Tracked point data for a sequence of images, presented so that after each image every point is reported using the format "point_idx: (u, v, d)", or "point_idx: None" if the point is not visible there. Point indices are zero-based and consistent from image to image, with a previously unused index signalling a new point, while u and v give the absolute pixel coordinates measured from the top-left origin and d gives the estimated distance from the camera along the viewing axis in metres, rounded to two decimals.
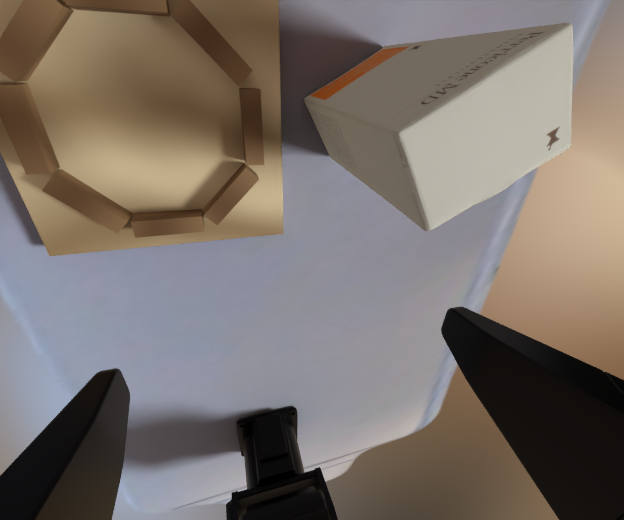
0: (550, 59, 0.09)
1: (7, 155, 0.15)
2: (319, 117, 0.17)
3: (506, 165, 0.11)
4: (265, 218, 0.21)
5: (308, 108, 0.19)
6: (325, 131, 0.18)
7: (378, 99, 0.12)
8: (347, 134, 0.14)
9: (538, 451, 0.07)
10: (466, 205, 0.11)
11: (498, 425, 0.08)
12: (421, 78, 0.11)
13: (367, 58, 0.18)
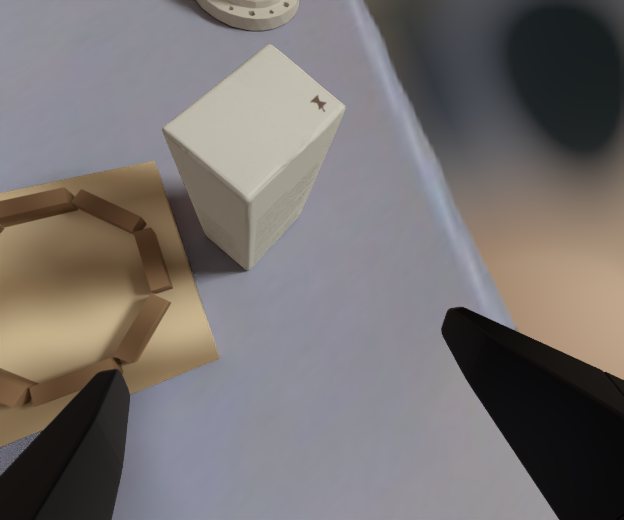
0: (268, 61, 0.12)
1: None
2: (208, 231, 0.20)
3: (290, 129, 0.12)
4: (192, 346, 0.19)
5: (208, 237, 0.21)
6: (218, 240, 0.20)
7: None
8: (202, 207, 0.16)
9: (538, 451, 0.07)
10: (272, 168, 0.11)
11: (498, 425, 0.08)
12: None
13: None
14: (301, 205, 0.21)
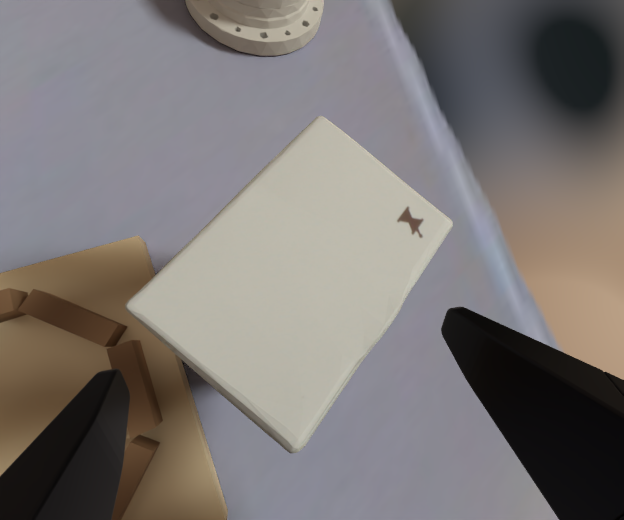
0: (321, 149, 0.07)
1: None
2: None
3: (366, 281, 0.06)
4: (189, 508, 0.13)
5: None
6: None
7: None
8: None
9: (538, 451, 0.07)
10: (341, 370, 0.06)
11: (498, 425, 0.08)
12: None
13: None
14: None
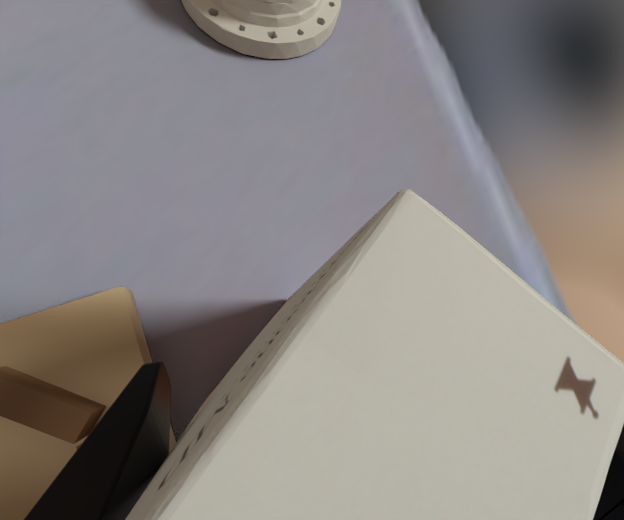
0: (414, 256, 0.04)
1: None
2: None
3: None
4: None
5: None
6: None
7: (188, 430, 0.06)
8: None
9: None
10: None
11: None
12: (238, 368, 0.06)
13: None
14: None
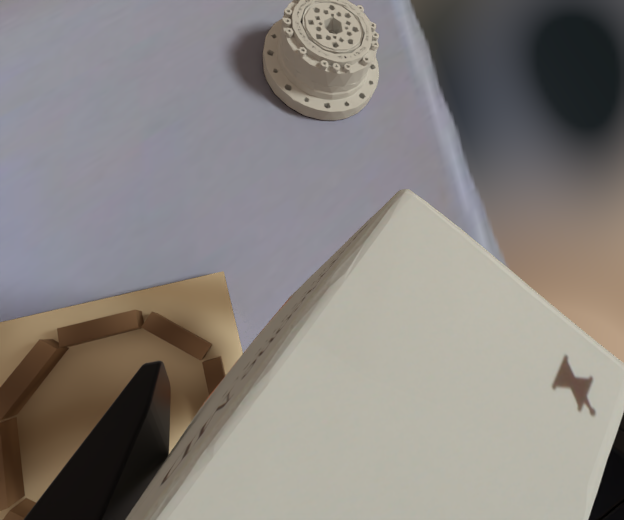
0: (413, 255, 0.04)
1: None
2: None
3: None
4: None
5: None
6: None
7: (190, 428, 0.06)
8: None
9: None
10: None
11: None
12: (239, 366, 0.06)
13: None
14: None
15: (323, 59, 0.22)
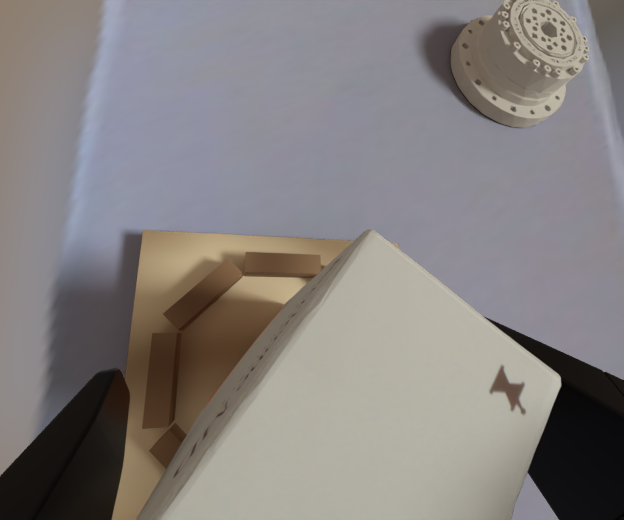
0: (375, 287, 0.05)
1: None
2: None
3: (455, 505, 0.04)
4: None
5: None
6: None
7: (193, 431, 0.07)
8: None
9: (538, 451, 0.07)
10: None
11: None
12: (236, 376, 0.06)
13: None
14: None
15: (535, 58, 0.21)
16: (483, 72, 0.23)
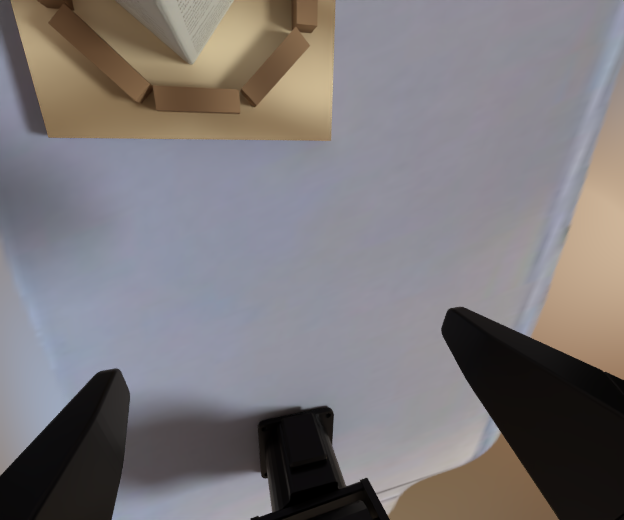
0: None
1: None
2: None
3: None
4: (311, 116, 0.17)
5: None
6: (127, 6, 0.12)
7: None
8: None
9: (538, 451, 0.07)
10: None
11: (498, 425, 0.08)
12: None
13: None
14: None
15: None
16: None
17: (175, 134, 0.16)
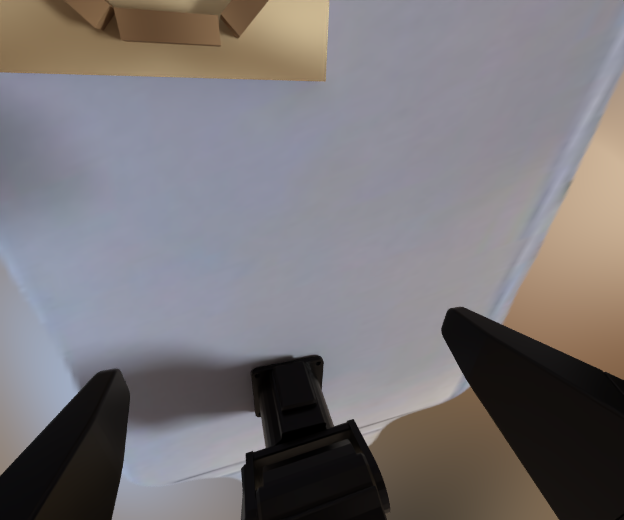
0: None
1: None
2: None
3: None
4: (303, 50, 0.15)
5: None
6: None
7: None
8: None
9: (538, 451, 0.07)
10: None
11: (498, 425, 0.08)
12: None
13: None
14: None
15: None
16: None
17: (147, 70, 0.14)
